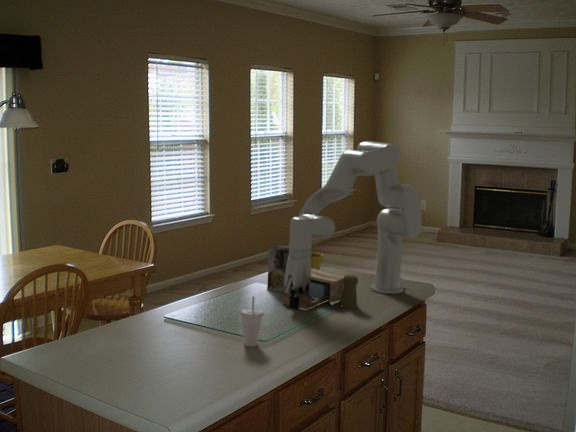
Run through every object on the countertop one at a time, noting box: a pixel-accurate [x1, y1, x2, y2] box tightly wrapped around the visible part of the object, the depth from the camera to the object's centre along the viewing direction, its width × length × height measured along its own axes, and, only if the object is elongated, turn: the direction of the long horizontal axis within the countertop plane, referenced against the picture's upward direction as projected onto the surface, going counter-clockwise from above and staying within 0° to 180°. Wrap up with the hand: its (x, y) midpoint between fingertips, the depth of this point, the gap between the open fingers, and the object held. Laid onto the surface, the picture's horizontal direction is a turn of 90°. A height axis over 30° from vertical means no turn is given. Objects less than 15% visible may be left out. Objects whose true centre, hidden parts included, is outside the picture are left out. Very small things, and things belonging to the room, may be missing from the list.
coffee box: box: [266, 244, 295, 293], centre depth 243 cm, size 9×6×16 cm
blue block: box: [309, 280, 331, 298], centre depth 236 cm, size 6×6×6 cm
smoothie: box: [240, 296, 264, 347], centre depth 184 cm, size 6×6×14 cm
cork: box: [339, 274, 359, 310], centre depth 227 cm, size 6×6×11 cm
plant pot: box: [311, 251, 324, 270], centre depth 264 cm, size 10×10×10 cm
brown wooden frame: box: [282, 290, 330, 309], centre depth 231 cm, size 21×9×4 cm, turn 146°
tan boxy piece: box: [306, 269, 346, 303], centre depth 236 cm, size 10×16×8 cm, turn 56°
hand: (296, 305), depth 223 cm, fingers closed on brown wooden frame, 3 cm apart
